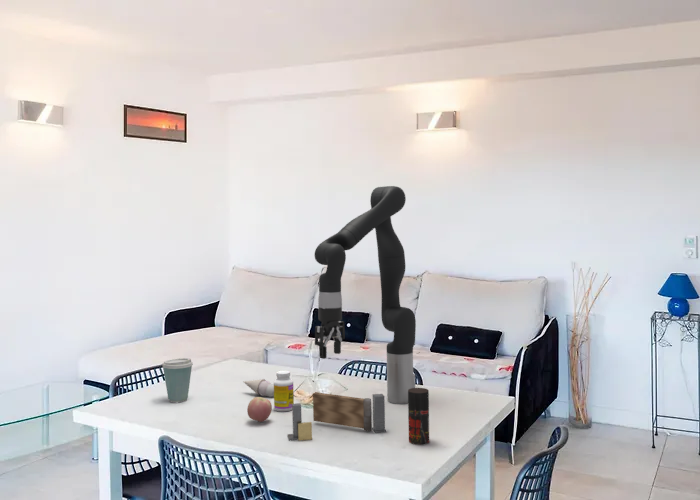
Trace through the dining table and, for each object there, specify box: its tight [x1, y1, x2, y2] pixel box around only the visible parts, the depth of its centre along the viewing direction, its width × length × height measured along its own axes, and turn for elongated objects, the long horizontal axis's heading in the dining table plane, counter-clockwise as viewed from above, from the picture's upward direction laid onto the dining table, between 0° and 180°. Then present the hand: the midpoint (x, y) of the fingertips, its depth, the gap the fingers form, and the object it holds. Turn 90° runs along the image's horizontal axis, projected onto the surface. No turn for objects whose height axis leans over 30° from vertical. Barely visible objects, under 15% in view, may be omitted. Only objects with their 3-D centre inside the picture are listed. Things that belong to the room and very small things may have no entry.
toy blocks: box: [286, 403, 313, 442], centre depth 203 cm, size 7×5×10 cm
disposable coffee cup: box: [162, 357, 193, 403], centre depth 246 cm, size 11×11×15 cm
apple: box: [246, 396, 273, 423], centre depth 219 cm, size 8×8×8 cm
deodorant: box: [407, 387, 430, 446], centre depth 197 cm, size 6×6×15 cm
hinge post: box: [372, 393, 387, 434], centre depth 208 cm, size 4×4×11 cm
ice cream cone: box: [242, 378, 274, 398], centre depth 251 cm, size 6×6×15 cm
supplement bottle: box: [273, 370, 295, 413], centre depth 232 cm, size 7×7×13 cm
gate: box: [312, 391, 373, 432], centre depth 211 cm, size 20×2×10 cm, turn 61°
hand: (330, 355), depth 219 cm, fingers open, 8 cm apart
